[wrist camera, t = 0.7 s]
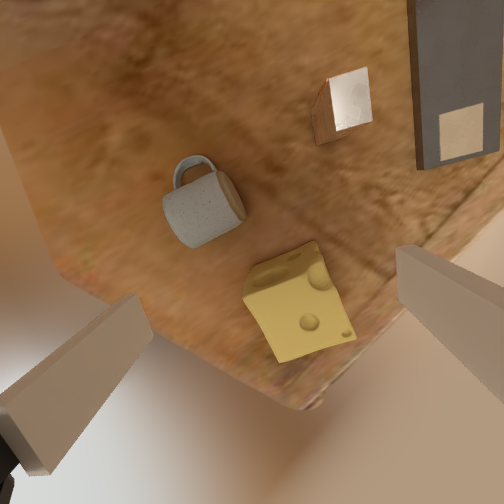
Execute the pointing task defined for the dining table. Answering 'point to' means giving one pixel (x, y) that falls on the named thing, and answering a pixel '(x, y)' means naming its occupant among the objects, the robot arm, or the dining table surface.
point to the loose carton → (342, 106)
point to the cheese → (297, 303)
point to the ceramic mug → (202, 205)
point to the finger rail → (455, 78)
